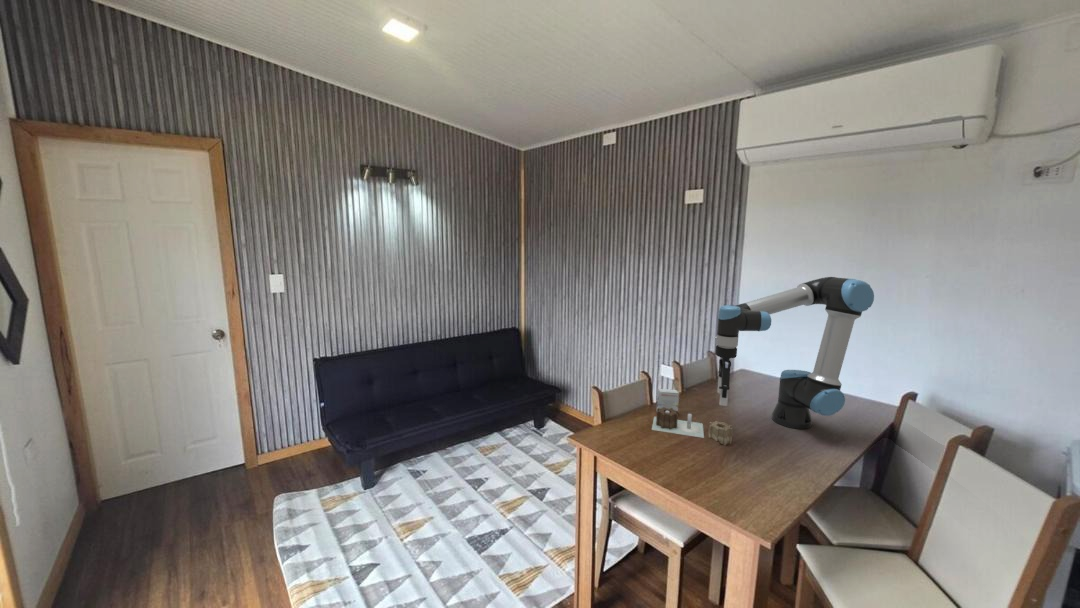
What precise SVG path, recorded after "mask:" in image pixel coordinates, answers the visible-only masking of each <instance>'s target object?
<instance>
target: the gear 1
mask: <svg viewBox="0 0 1080 608" xmlns="http://www.w3.org/2000/svg"><path fill="white" fill-rule="evenodd" d="M656 410H657V411H656V417H657V419H656V425H659V426H661V428H668V429H672V428H677V421H678V420H679V419H678V418H679V410H678V411H675V410H673V408H670V409H669V408H665V407H663V408H661V409H660V408H658V409H657V408H656ZM666 411H670V412H669V413H666Z"/></svg>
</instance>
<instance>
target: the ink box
mask: <svg viewBox="0 0 1080 608" xmlns="http://www.w3.org/2000/svg"><path fill="white" fill-rule="evenodd" d="M656 399H657V400H656V410H655V411H656V412H657V409H658V408H660V409H661V408H663V407H665V408H669V409H670V408H673V410H675V411H678V412H679V403H680V401H679V399H680V392H679V391H678V390H677V389H668V388H667V389H666V388H665V389H664V388H658V389H657V398H656Z"/></svg>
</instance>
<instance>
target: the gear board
mask: <svg viewBox="0 0 1080 608" xmlns="http://www.w3.org/2000/svg"><path fill="white" fill-rule="evenodd" d="M669 412H670V411H666V413H669ZM692 418H693V414H692V413H687V420H681V419H678V421H677V428H672V429H668V428H661V426H659V425H656V419H657V416H656V415H655V416H653V421H652V425H651V430H652V431H658V432H662V433H663V432H664V433H669V434H677V435H683V436H687V437H688V436H689V437H696V438H703V439H704V438H705V435H704V425H703V423H702V422H701V423H700V422H697V421H696V422H695V421H692Z"/></svg>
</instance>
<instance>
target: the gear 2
mask: <svg viewBox="0 0 1080 608" xmlns="http://www.w3.org/2000/svg"><path fill="white" fill-rule="evenodd" d="M733 431H734V428H733V425H732V424H728V423H726V422H725V421H723V422H722V421H717V420H714V421H713V422H711V421H710V422H709V423H708V438H709V439H713V440H714V441H715V442H719V445H720V444H721V445H723V446H726V445H728V444H730V445H731V444H732V440H733Z"/></svg>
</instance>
